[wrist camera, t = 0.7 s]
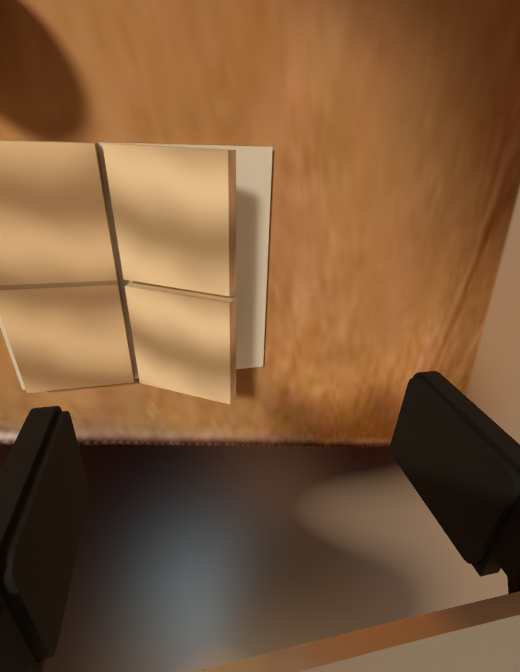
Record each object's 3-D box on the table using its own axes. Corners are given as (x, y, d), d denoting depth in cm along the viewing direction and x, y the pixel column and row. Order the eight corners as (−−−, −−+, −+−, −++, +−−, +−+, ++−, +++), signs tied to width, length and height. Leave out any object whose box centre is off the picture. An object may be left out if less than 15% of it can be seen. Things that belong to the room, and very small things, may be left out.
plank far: (134, 280, 27) (124, 286, 26) (236, 296, 25) (229, 303, 24) (147, 374, 32) (139, 382, 31) (236, 395, 30) (230, 404, 29)
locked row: (-51, 138, 21) (-62, 139, 20) (97, 142, 23) (94, 143, 22) (31, 383, 30) (26, 393, 29) (135, 374, 32) (134, 382, 31)
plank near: (115, 143, 23) (102, 143, 22) (236, 149, 21) (228, 150, 20) (133, 274, 27) (123, 279, 26) (236, 289, 25) (229, 296, 24)
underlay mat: (-63, 138, 22) (-67, 138, 21) (271, 146, 26) (272, 147, 25) (24, 386, 30) (22, 389, 30) (262, 364, 34) (263, 366, 34)
